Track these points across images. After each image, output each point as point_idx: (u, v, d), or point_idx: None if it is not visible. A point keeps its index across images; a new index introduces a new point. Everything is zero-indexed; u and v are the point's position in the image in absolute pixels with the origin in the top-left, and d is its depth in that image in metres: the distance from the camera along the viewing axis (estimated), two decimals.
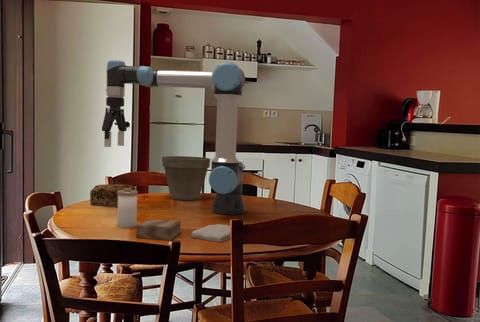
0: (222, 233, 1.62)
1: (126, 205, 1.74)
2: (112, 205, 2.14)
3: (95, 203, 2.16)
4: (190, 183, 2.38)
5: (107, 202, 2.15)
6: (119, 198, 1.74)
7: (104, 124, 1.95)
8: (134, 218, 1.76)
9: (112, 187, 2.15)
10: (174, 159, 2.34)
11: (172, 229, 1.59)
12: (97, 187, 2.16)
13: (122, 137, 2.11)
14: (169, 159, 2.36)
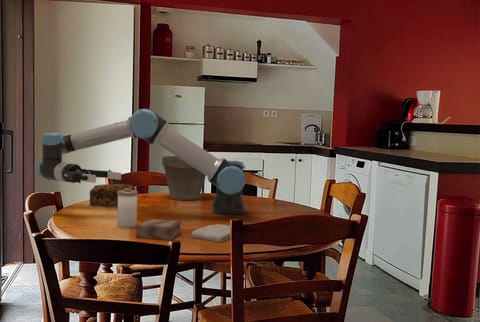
0: (222, 233, 1.62)
1: (126, 205, 1.74)
2: (112, 205, 2.14)
3: (95, 203, 2.15)
4: (190, 183, 2.38)
5: (107, 202, 2.14)
6: (119, 198, 1.74)
7: None
8: (134, 218, 1.76)
9: (112, 187, 2.15)
10: (174, 159, 2.34)
11: (172, 229, 1.59)
12: (97, 187, 2.16)
13: None
14: (169, 159, 2.36)
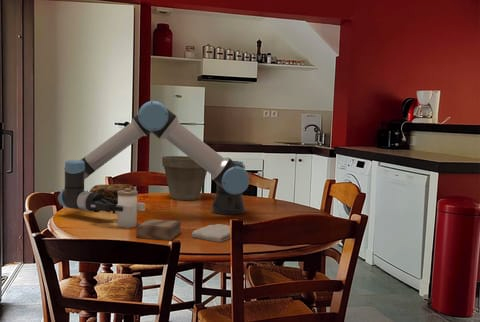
0: (222, 233, 1.62)
1: None
2: None
3: None
4: (190, 183, 2.38)
5: None
6: (119, 198, 1.74)
7: None
8: (134, 218, 1.76)
9: (113, 187, 2.15)
10: (174, 159, 2.34)
11: (172, 229, 1.59)
12: (96, 187, 2.15)
13: None
14: (169, 159, 2.36)
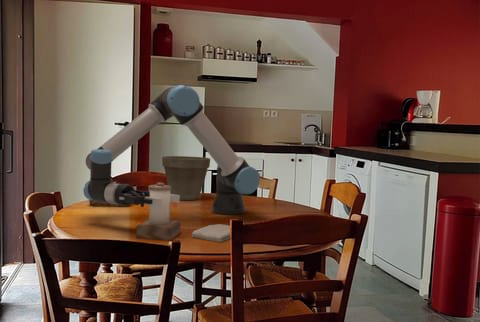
0: (223, 233, 1.62)
1: None
2: (114, 205, 2.15)
3: (95, 204, 2.14)
4: (190, 183, 2.38)
5: None
6: (151, 193, 1.61)
7: None
8: (167, 215, 1.63)
9: None
10: (174, 159, 2.34)
11: (172, 229, 1.59)
12: None
13: None
14: (169, 159, 2.36)
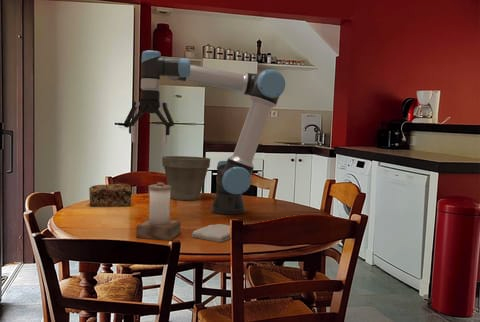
0: (223, 233, 1.62)
1: (159, 201, 1.60)
2: (115, 205, 2.15)
3: (96, 204, 2.13)
4: (190, 183, 2.38)
5: (109, 202, 2.15)
6: (151, 193, 1.61)
7: None
8: (167, 215, 1.63)
9: (114, 187, 2.15)
10: (174, 159, 2.34)
11: (172, 229, 1.59)
12: (96, 188, 2.13)
13: None
14: (169, 159, 2.36)
